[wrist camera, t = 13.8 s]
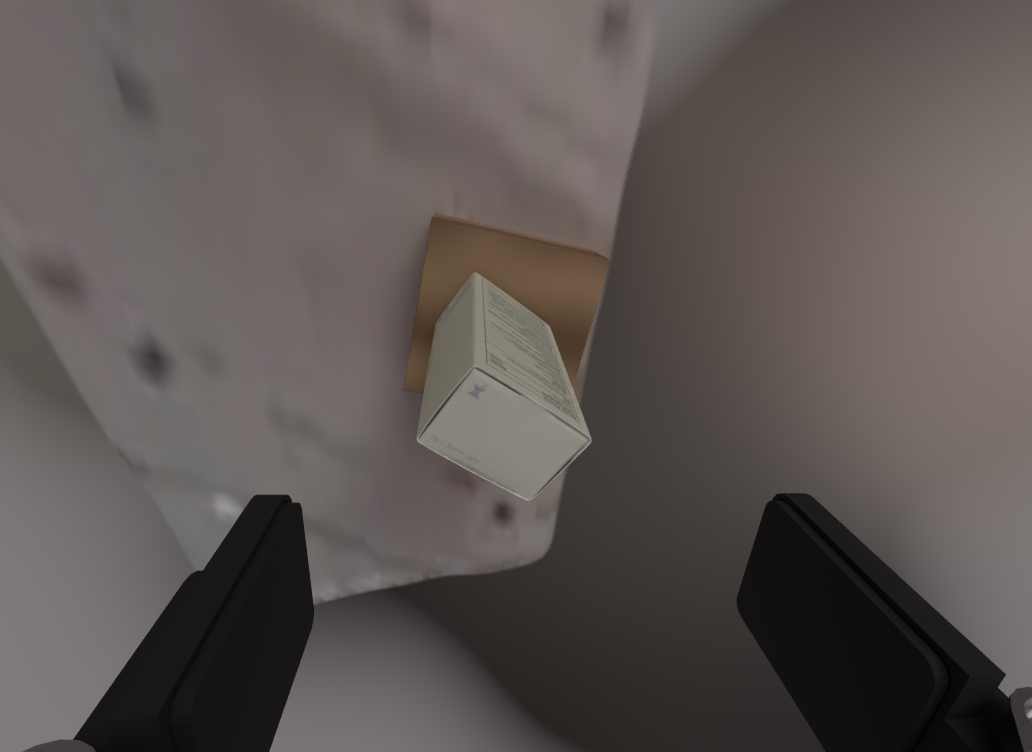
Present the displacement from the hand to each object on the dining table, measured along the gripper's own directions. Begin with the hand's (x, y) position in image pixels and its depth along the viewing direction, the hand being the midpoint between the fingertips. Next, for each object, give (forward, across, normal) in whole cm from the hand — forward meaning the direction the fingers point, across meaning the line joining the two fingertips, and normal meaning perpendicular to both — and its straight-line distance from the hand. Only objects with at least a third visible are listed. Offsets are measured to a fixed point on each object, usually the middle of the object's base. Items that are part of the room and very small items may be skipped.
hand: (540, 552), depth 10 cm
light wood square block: (+27, -1, +2) cm, 27 cm away
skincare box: (+22, 0, +1) cm, 22 cm away
